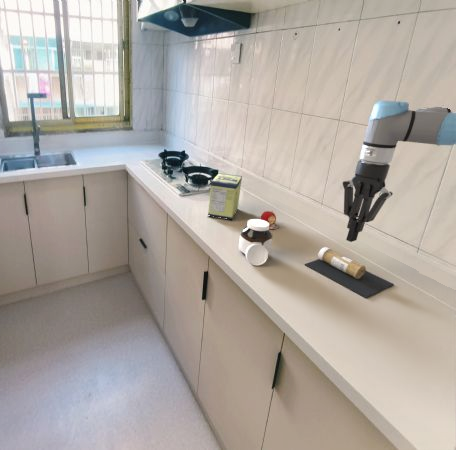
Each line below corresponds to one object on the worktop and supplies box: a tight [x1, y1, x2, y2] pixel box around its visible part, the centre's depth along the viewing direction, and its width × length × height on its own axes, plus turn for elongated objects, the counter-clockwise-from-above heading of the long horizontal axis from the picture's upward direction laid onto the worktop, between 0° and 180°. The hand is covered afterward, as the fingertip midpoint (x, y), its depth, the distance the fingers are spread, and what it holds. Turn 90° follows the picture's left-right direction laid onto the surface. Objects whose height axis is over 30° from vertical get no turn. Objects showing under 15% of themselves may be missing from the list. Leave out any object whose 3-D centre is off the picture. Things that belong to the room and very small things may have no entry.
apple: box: [260, 210, 279, 230], centre depth 135 cm, size 8×8×6 cm
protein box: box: [207, 172, 243, 220], centre depth 145 cm, size 10×16×16 cm
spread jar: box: [238, 218, 273, 267], centre depth 109 cm, size 12×11×12 cm
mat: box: [304, 258, 395, 299], centre depth 104 cm, size 20×14×1 cm
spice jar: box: [317, 246, 367, 279], centre depth 105 cm, size 5×5×14 cm
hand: (351, 240), depth 101 cm, fingers closed
